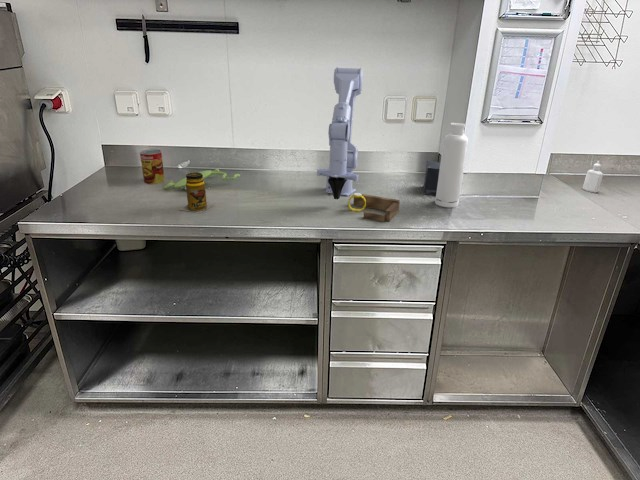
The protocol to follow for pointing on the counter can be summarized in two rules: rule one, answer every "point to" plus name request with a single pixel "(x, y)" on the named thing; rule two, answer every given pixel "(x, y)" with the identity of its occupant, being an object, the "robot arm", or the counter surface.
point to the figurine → (205, 174)
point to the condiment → (195, 193)
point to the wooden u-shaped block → (378, 207)
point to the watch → (356, 196)
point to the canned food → (152, 166)
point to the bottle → (452, 166)
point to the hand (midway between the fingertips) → (336, 198)
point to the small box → (431, 178)
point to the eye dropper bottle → (593, 179)
